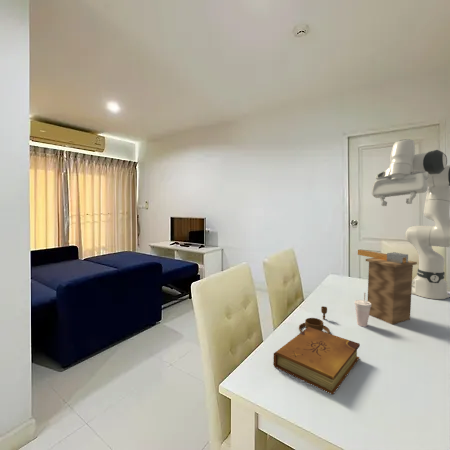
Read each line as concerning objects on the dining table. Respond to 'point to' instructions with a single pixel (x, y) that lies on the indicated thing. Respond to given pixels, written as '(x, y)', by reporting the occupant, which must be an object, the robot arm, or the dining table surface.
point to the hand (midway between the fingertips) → (395, 204)
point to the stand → (390, 290)
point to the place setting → (315, 322)
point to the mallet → (386, 256)
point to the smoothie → (362, 311)
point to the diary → (318, 358)
